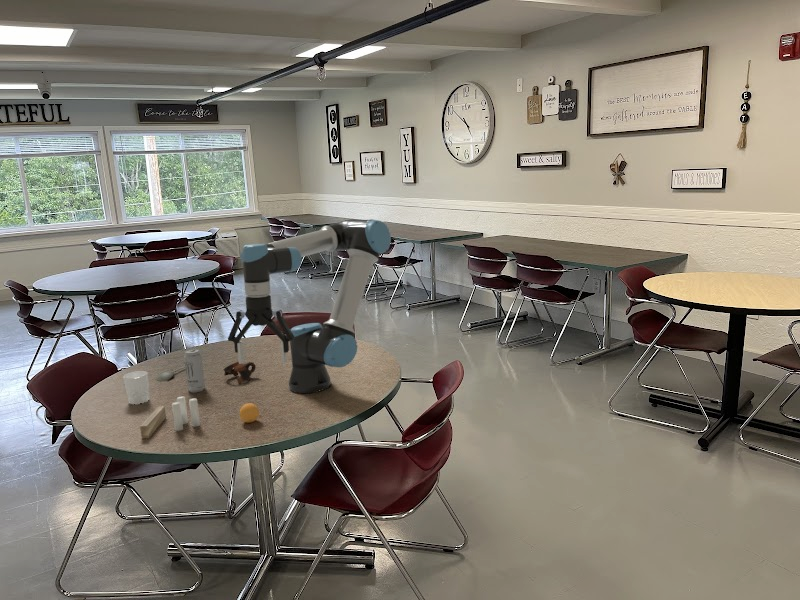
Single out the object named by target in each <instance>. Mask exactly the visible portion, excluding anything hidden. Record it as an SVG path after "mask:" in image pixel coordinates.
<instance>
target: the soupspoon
mask: <svg viewBox="0 0 800 600" xmlns="http://www.w3.org/2000/svg"><path fill="white" fill-rule="evenodd" d="M184 368H185V365H184V366H182V367H180V368H177V369H175V370H173V371H165V372H161V373H160V374H159V375H157V376H156V378H155V381H156V382H168V381H169V380H170V379H172V377H174V375H175V373H176V372H178V371H180V370H182V369H184Z"/></svg>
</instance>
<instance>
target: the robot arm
mask: <svg viewBox="0 0 800 600" xmlns="http://www.w3.org/2000/svg"><path fill="white" fill-rule="evenodd" d="M391 241H392V236H391V232H390V228H389V227H388V226H387V224H386V223H385V222H383V221H381V220H379V219H378V220H376V219H353V218H351V219H347V220H346V219H345V220H342V221H338V222H334V223H331V224H328V225H324V226H322V227H321V228H320V229H319V230H315V231H312V232H308V233H304V234H300V235H296V236H292V237H288V238H284V239H280V240H276V241H273V242H269V243H252V244H251V243H250V244H245V245H244V246H243V247H242V250H241V252H240V257H239V258H240V262H241V264H242V269H243V281H244V284H243V285H244V295H245V296H246V297H245V306H246V307H245V308H246V311H243V310H241V309H240V310H238V311H237V312H236V314H235V321H234V323H233V326H232V328H231V330H230V332H229V335H228V337H227V341H228V342H233V344H234V345H233V346H234V352H235V353H236V354H237V356H238V357H237V358H238V361H239V364H241V363H242V364H244V362H245V356H244V344H243V342H244V341H243V340H241V339H242V338H243V337H244V336H245V334H246V333H247V332H248V330H249V329H250V328H251V326H254V327H257V326H261V327H265V326H267V327H268V328H269V329H271V331H272V332H273V333H274V335H276V336H277V337H278V338H279V339H280V340H281V342H280V353H281V354H280V357H281V364H283V365H284V364H286V362H287V353H288V352H289V350H290V355H291V366H292V367H291V371H290V376H289V381H288V388H289V389H288V390H290V391H291V390H292V391H291V392H293V391H294V393H297V392H299V394H310V393H309V392H313V393H317V392H316V391H318V392H320V391H319V390H322V389H325V388H327V387H328V388H329V385H330V384H332V381H331V376H330V374H329V371H328V369H327V367H326V366H329V367H331V368H334V367H335V368H344V367H346V366H347V365H349V364H351V362H352V361H353V360H354V359H355V357H356V356H357V352H358V344H357V343H358V342H357V339H356V338H355V335H356V332H355V329H354V323H355V321H356V317H357V315H358V311H359V309H360V304H361V301H362V298H363V295H364V292H365V290H366V286H367V284H368V283H367V282H368V279H369V276H370V273H371V270H372V268H373V267H372V266H373V265H374V264H375V263H377V262H378V261H379V259H380V256H381V254H384V253H386V252H387V251H388V250H389V248H390V246H391V243H392V242H391ZM325 251H326V252H329V253H331V252H335V251H346V252H347V254H348V256H349V258H348V261H347V264H346V267H345V269H344V271H343V272H344V273H343V275H342V279H341V283H340V285H339V288H338V291H337V295H336V297H335V300H334V301H335V302H334V304H333V308H332V309H331V314H330V316H329V318H328V320H327V321H324V322H323V324H321V322H311V323H309V322H308V323H304V324H300V325H299V324H298V325H296V326H293V327H292V328H290V326H289V324H288V323H287V321H286V319H285V317H284V315H283V314H284V313H283V310H282V309H279V310H275V311H273V308H272V297H271V280H270V277H271V276H270V275H271V274H272V275H273V274H278V273H279V274H280V273H287V272H292V271H297V270H298V269H299V268H300V267H301V266H302V261H303V259H302V258H304V257H309V256H311V255H314V254H319V253H322V252H325ZM273 316H274V318H275V319H277V322H278V323H279V325H280V327H281V329H280V328H279V326H278V325H277V324H276V322H275V321H274V320H273V319H272V318H273ZM244 318H247V319H248V321H246V323H245V325H244V326H243V328H242V329H241V330H240V331H239V332H238V330H239V328H240V326H241V323H242V320H243V319H244ZM237 333H238V334H237ZM236 334H237V335H236ZM330 386H331V385H330ZM328 388H327V389H328ZM325 390H326V389H325ZM322 391H323V390H322Z"/></svg>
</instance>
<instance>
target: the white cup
mask: <svg viewBox="0 0 800 600" xmlns="http://www.w3.org/2000/svg"><path fill="white" fill-rule="evenodd" d="M123 382H124V386H125V391H126V396H127V398H128V399H127V401H128V403H129V404H130V405H134V404H135V405H140V403H142V404H145V403H147V402H149V401H150V385H149V384H150V383H149V374H148V371H145V370H136V371H130V372H128V373H126V374H124V375H123ZM148 400H149V401H148ZM144 402H145V403H144Z"/></svg>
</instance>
